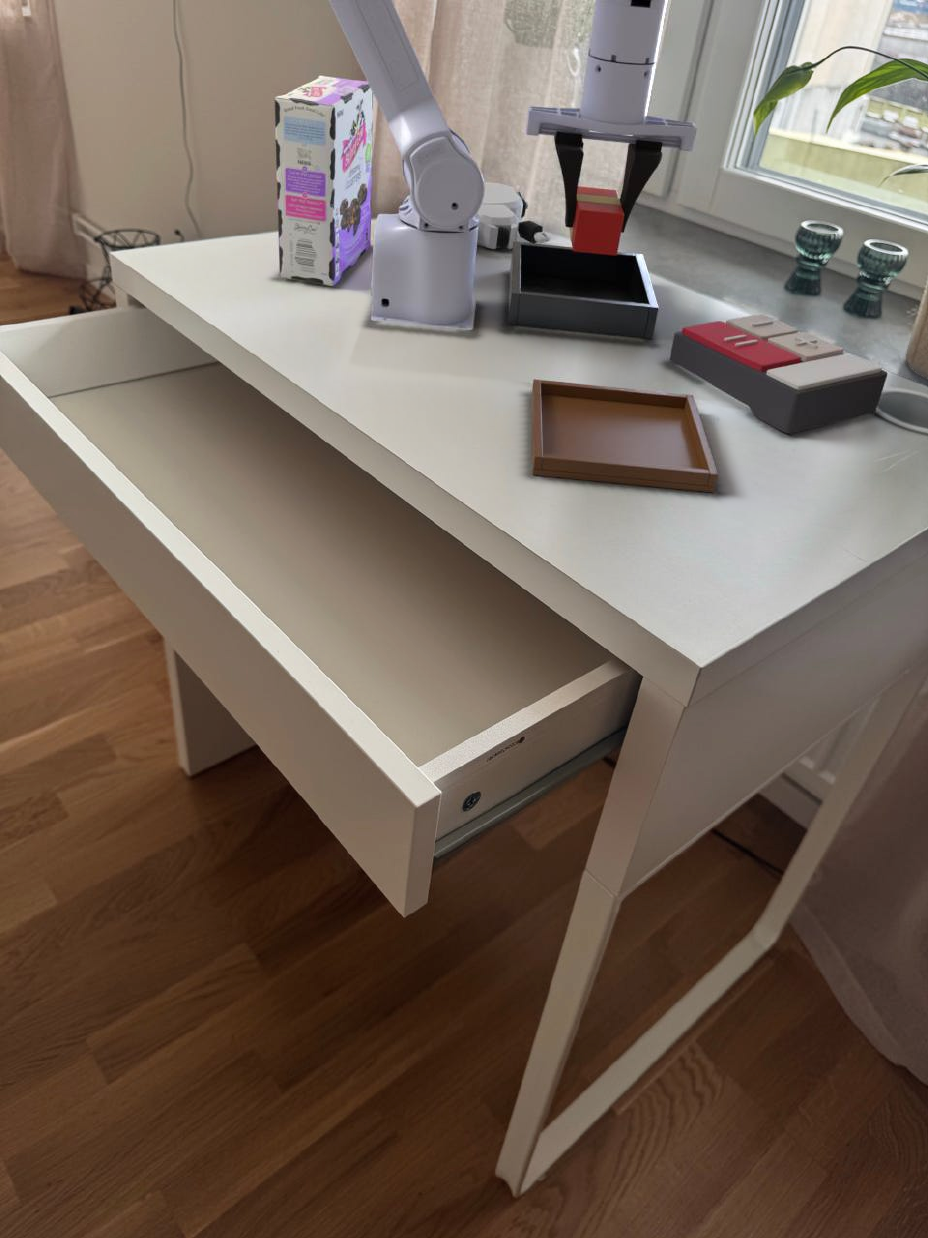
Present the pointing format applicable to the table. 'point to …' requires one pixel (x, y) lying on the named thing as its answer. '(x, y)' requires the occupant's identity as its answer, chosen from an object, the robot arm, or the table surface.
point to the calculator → (780, 371)
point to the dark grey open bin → (581, 291)
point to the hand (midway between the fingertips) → (594, 226)
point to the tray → (619, 436)
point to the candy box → (323, 178)
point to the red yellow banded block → (597, 221)
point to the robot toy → (505, 218)
